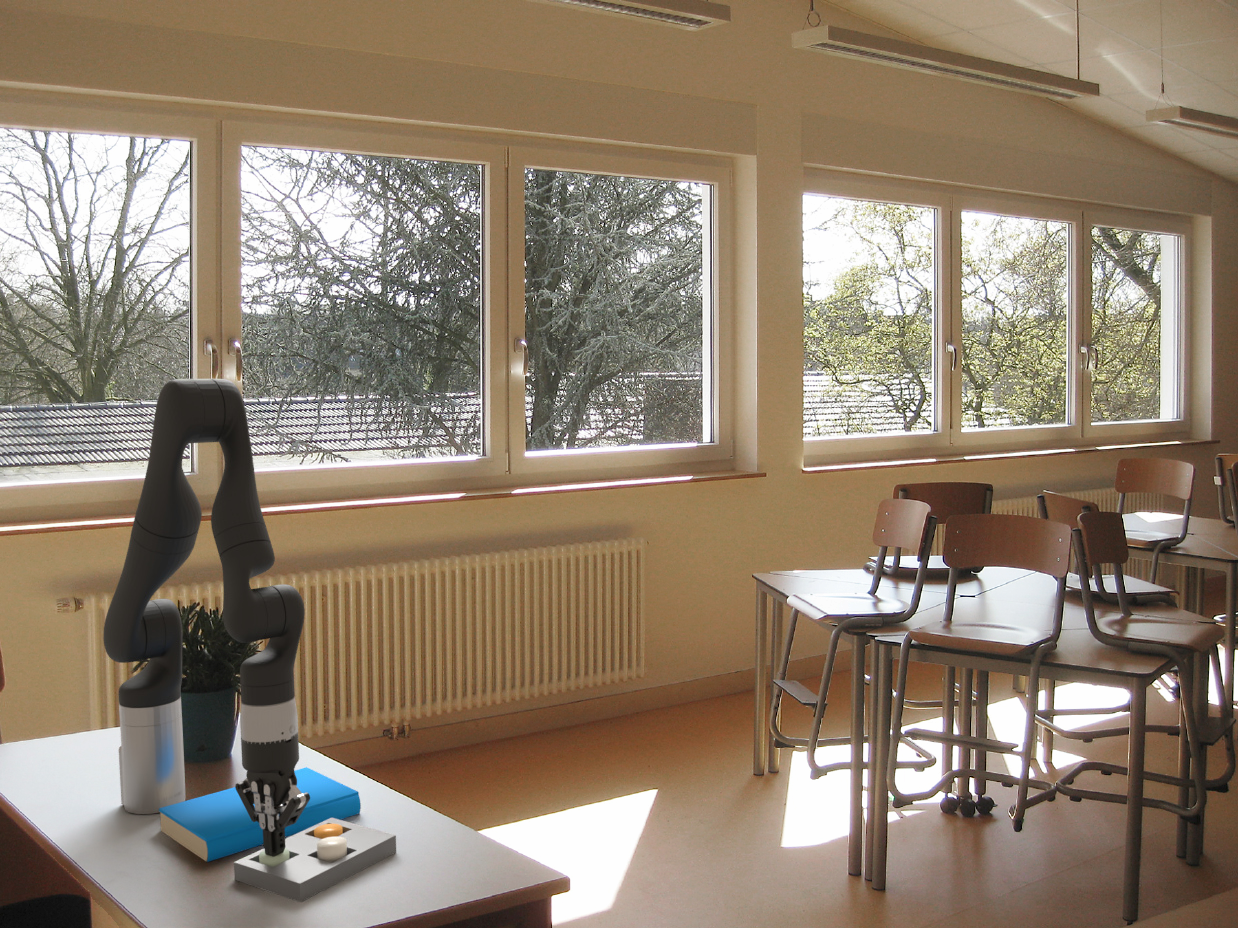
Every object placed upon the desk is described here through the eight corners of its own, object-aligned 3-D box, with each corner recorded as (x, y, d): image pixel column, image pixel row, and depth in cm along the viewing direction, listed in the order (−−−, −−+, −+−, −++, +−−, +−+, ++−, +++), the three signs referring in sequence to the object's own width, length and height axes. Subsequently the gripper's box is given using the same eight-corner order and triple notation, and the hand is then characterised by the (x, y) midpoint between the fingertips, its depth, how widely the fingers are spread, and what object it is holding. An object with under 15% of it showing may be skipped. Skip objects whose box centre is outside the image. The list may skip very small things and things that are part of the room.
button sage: (253, 873, 157) (252, 855, 156) (276, 862, 160) (275, 845, 160) (273, 879, 155) (272, 862, 154) (296, 868, 158) (295, 851, 158)
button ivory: (311, 862, 158) (310, 844, 157) (332, 851, 161) (332, 834, 161) (331, 868, 156) (331, 850, 155) (353, 857, 159) (352, 840, 159)
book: (157, 808, 173) (305, 764, 191) (159, 836, 173) (307, 789, 191) (207, 839, 161) (361, 789, 178) (209, 869, 161) (362, 816, 179)
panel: (234, 879, 156) (233, 862, 156) (332, 833, 171) (331, 817, 171) (300, 902, 149) (300, 883, 149) (396, 852, 164) (395, 835, 164)
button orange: (308, 847, 165) (308, 831, 165) (329, 838, 169) (328, 821, 168) (328, 853, 163) (327, 836, 163) (348, 843, 166) (348, 827, 166)
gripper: (215, 731, 156) (220, 854, 157) (281, 746, 149) (286, 874, 150) (258, 717, 162) (263, 835, 164) (324, 731, 155) (329, 854, 157)
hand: (274, 853), depth 157 cm, fingers closed
